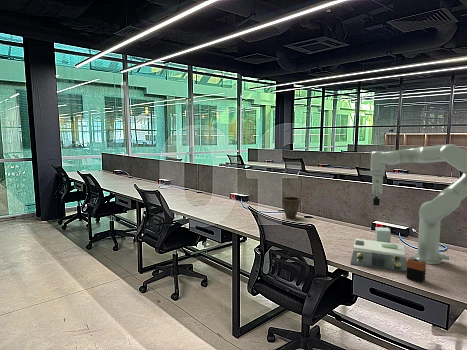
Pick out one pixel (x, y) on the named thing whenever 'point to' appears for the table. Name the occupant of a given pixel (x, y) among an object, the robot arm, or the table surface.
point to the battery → (416, 269)
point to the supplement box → (382, 234)
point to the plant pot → (290, 206)
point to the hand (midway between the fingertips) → (376, 205)
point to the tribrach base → (379, 261)
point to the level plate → (379, 247)
